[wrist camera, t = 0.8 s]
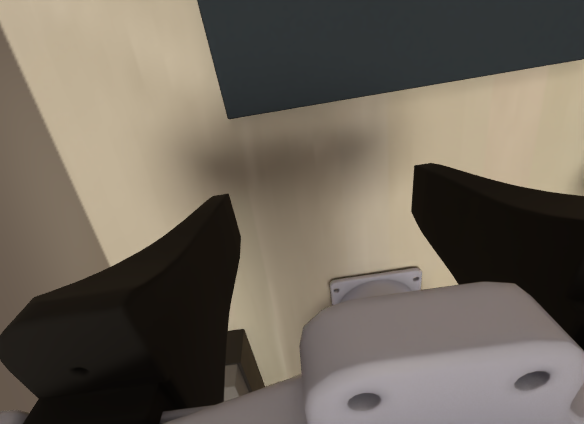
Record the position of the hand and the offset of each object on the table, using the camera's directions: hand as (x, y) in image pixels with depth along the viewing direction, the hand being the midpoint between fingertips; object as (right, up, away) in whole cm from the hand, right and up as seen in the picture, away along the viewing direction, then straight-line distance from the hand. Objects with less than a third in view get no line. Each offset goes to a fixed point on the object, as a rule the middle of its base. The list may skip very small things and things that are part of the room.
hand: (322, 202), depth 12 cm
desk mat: (+5, +11, +5) cm, 13 cm away
